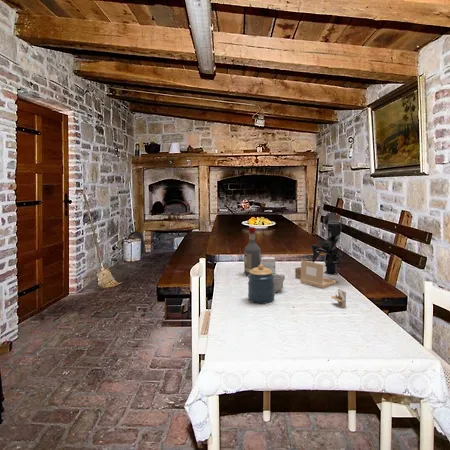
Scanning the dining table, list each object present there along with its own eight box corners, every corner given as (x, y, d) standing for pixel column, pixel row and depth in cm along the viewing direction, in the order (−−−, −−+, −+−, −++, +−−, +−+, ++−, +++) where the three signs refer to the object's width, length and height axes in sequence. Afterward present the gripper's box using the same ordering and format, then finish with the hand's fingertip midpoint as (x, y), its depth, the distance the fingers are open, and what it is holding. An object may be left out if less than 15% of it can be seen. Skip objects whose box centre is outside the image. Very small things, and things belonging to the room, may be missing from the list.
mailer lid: (301, 260, 194) (301, 260, 194) (323, 264, 183) (322, 264, 182) (301, 278, 195) (300, 278, 195) (322, 283, 183) (321, 284, 183)
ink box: (275, 275, 212) (274, 257, 210) (275, 277, 207) (275, 258, 205) (261, 275, 212) (260, 257, 211) (261, 277, 207) (261, 258, 206)
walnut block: (299, 276, 208) (299, 267, 207) (304, 278, 204) (304, 268, 204) (295, 278, 205) (295, 268, 204) (300, 279, 202) (300, 269, 201)
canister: (256, 305, 160) (255, 268, 158) (243, 297, 172) (243, 263, 170) (279, 301, 165) (279, 265, 163) (265, 293, 177) (265, 260, 175)
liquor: (256, 272, 221) (255, 226, 217) (262, 275, 212) (261, 228, 209) (243, 273, 218) (242, 227, 215) (248, 277, 209) (248, 228, 206)
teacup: (270, 295, 175) (270, 279, 174) (259, 289, 184) (258, 275, 183) (292, 290, 181) (292, 276, 180) (279, 285, 191) (279, 271, 190)
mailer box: (313, 278, 203) (313, 275, 202) (336, 284, 190) (336, 280, 190) (300, 282, 196) (300, 279, 195) (322, 288, 183) (322, 284, 183)
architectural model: (339, 309, 154) (339, 293, 153) (330, 304, 161) (330, 288, 160) (345, 308, 155) (346, 292, 154) (337, 303, 162) (337, 288, 161)
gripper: (312, 231, 201) (299, 253, 198) (339, 237, 186) (325, 261, 183) (321, 241, 207) (309, 262, 204) (347, 247, 192) (334, 271, 189)
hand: (319, 264), depth 195 cm, fingers open, 9 cm apart
